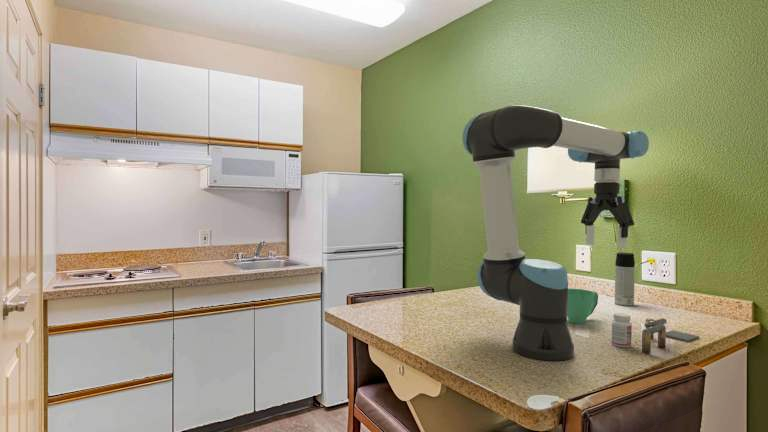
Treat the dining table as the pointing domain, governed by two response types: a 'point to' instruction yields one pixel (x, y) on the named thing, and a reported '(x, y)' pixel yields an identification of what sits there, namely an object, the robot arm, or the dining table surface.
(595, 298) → the mug
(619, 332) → the pill bottle
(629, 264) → the spray can
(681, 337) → the pad
